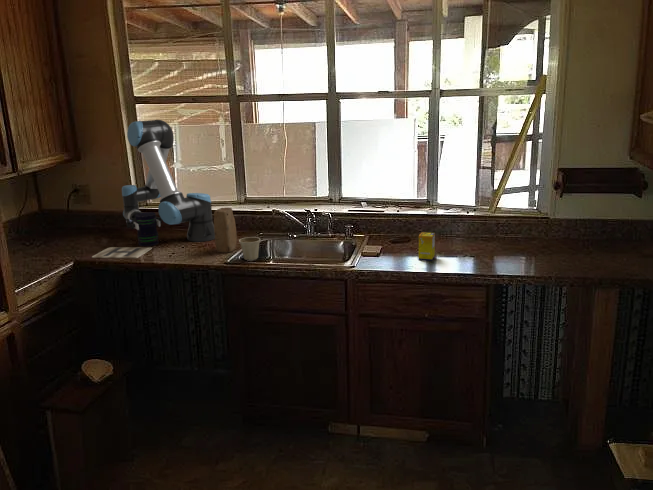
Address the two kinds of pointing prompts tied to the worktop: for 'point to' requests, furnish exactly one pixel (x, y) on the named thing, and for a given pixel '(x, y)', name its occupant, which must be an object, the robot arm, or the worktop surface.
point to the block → (225, 230)
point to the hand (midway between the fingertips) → (148, 225)
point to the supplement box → (426, 246)
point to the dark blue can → (147, 229)
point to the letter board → (122, 252)
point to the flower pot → (250, 247)
